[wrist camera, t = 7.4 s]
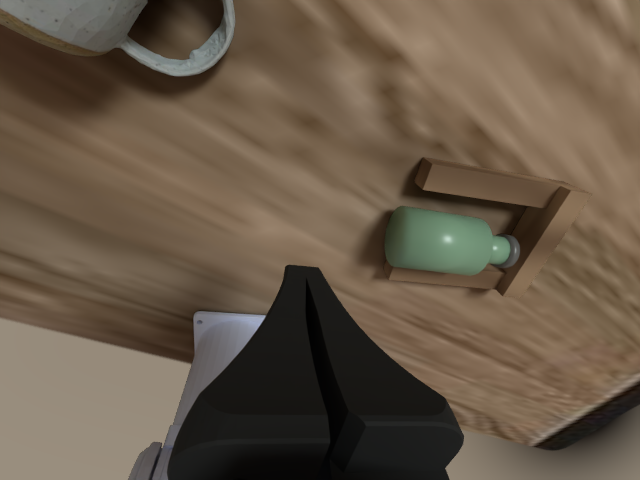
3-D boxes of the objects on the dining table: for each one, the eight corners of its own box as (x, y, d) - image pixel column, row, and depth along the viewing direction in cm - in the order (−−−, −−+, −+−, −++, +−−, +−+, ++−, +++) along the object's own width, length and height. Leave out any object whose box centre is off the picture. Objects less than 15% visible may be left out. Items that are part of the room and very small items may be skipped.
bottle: (380, 237, 24) (477, 250, 26) (392, 279, 21) (501, 291, 23) (402, 193, 21) (509, 212, 23) (419, 235, 18) (542, 252, 20)
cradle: (502, 279, 27) (520, 298, 25) (383, 267, 25) (392, 286, 23) (563, 181, 23) (592, 194, 20) (423, 157, 21) (438, 168, 18)
